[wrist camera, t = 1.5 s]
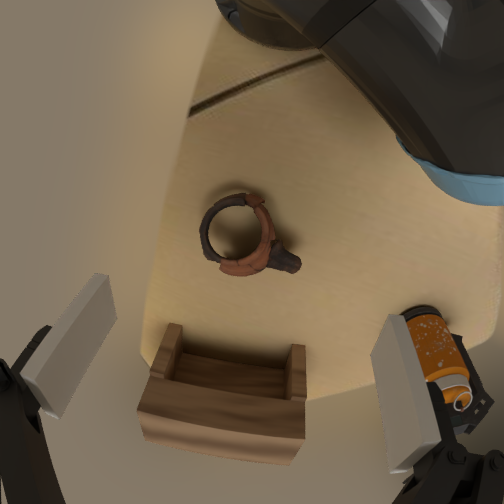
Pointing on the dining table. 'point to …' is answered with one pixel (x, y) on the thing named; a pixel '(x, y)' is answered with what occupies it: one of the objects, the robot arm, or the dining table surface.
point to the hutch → (224, 405)
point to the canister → (448, 368)
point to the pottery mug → (264, 252)
